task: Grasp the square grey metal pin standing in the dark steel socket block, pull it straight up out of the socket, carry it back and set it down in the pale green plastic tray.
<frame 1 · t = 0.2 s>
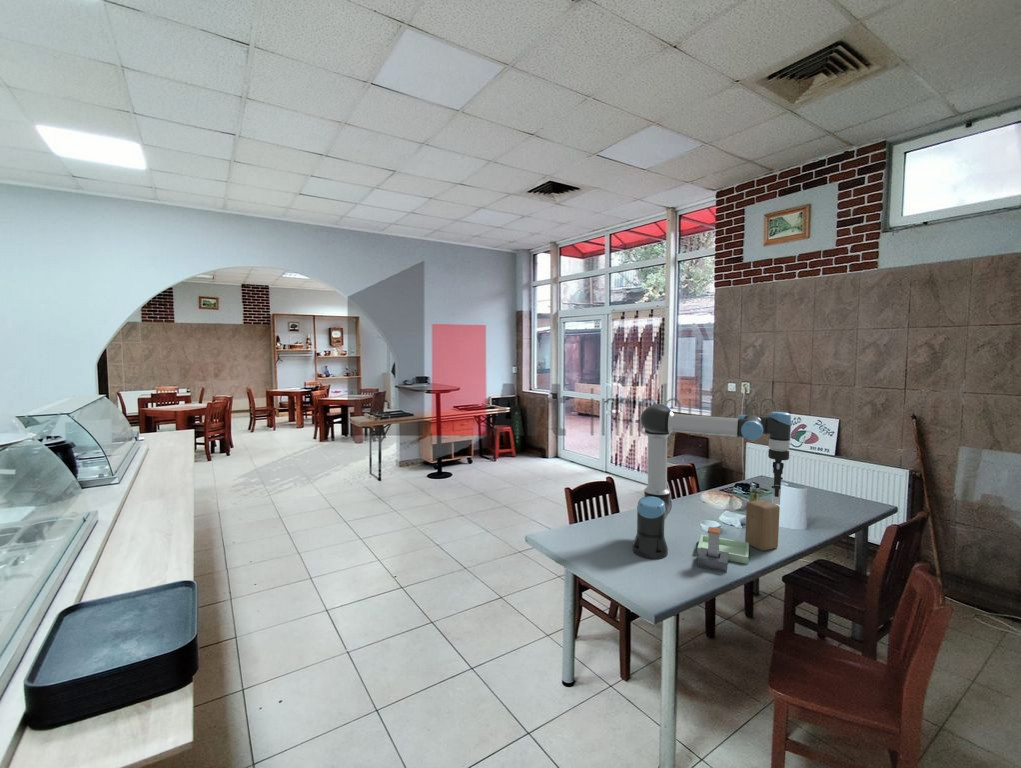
hand: (776, 499, 195), 28 cm above the table, fingers open, 13 cm apart
tray: (723, 551, 209), on the table
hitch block: (713, 564, 197), on the table
wooden block: (761, 546, 215), on the table
pin: (713, 546, 196), in the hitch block
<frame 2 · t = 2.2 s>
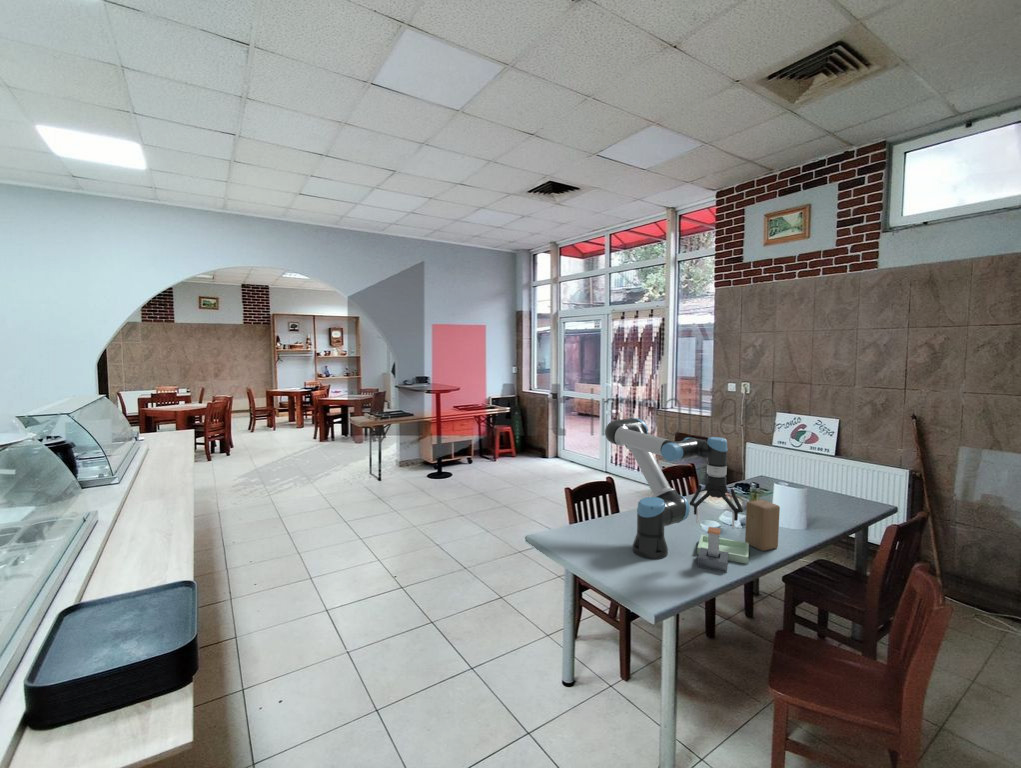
hand: (715, 524, 195), 17 cm above the table, fingers open, 13 cm apart
nothing on the table moved.
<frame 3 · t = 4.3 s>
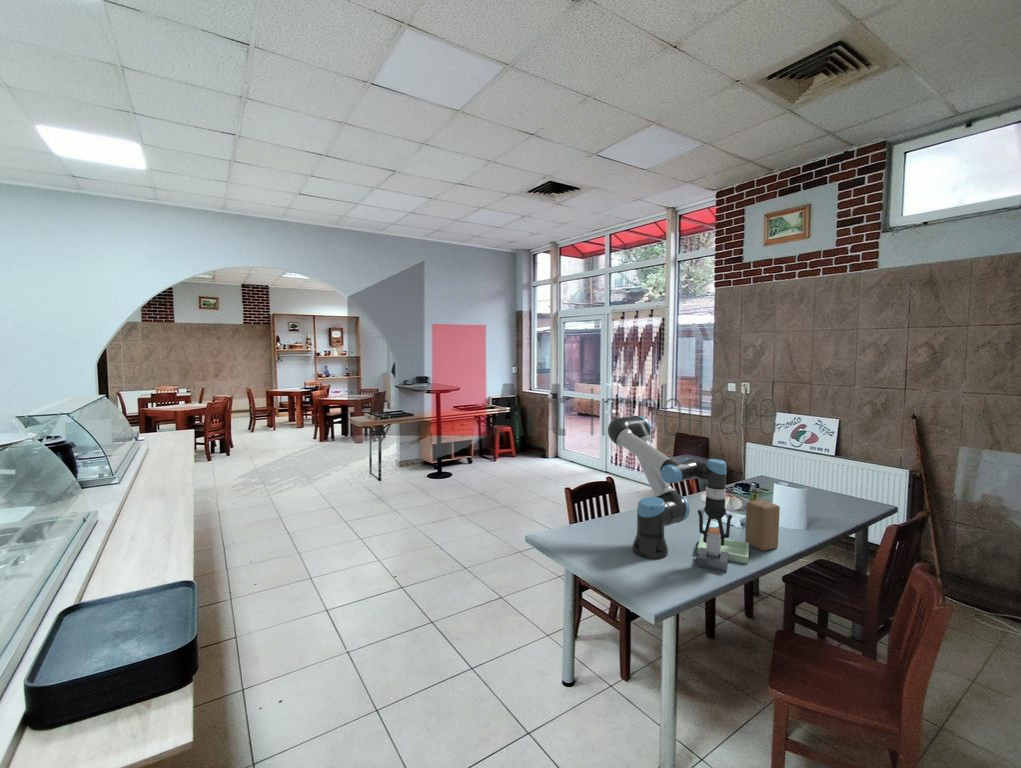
hand: (713, 551, 196), 6 cm above the table, fingers closed on pin, 4 cm apart
pin: (713, 546, 196), in the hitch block, touching gripper
everything else where it was.
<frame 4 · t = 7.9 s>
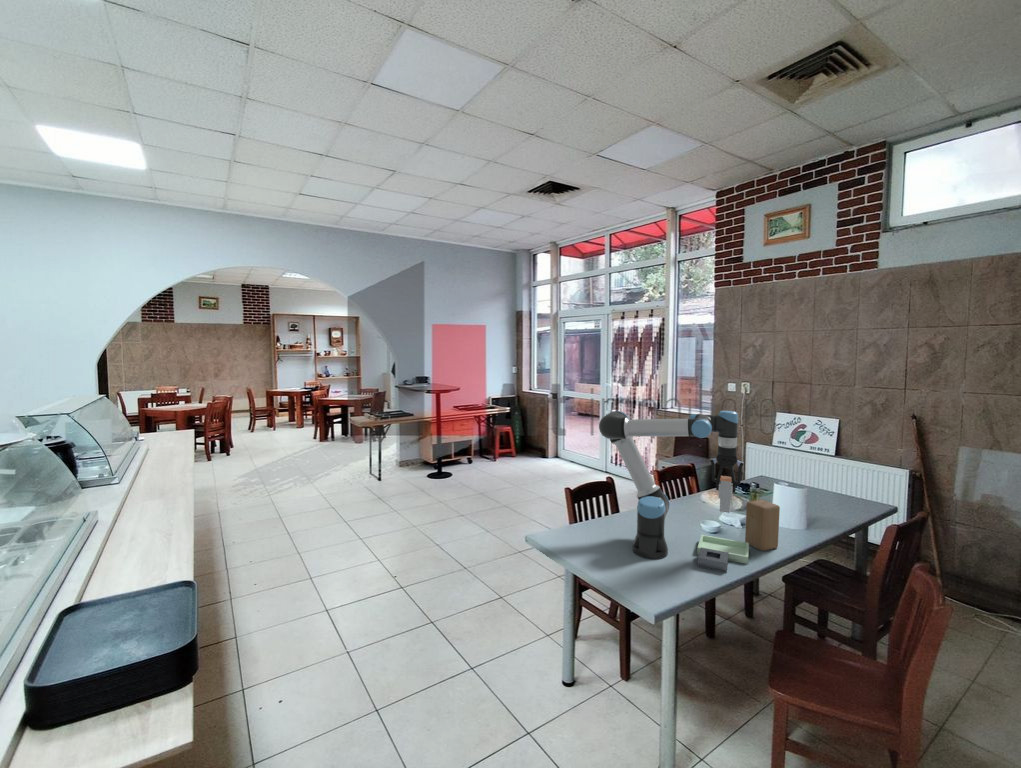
hand: (725, 498, 206), 25 cm above the table, fingers closed on pin, 4 cm apart
pin: (725, 494, 206), point 26 cm above the table, touching gripper
everything else where it was.
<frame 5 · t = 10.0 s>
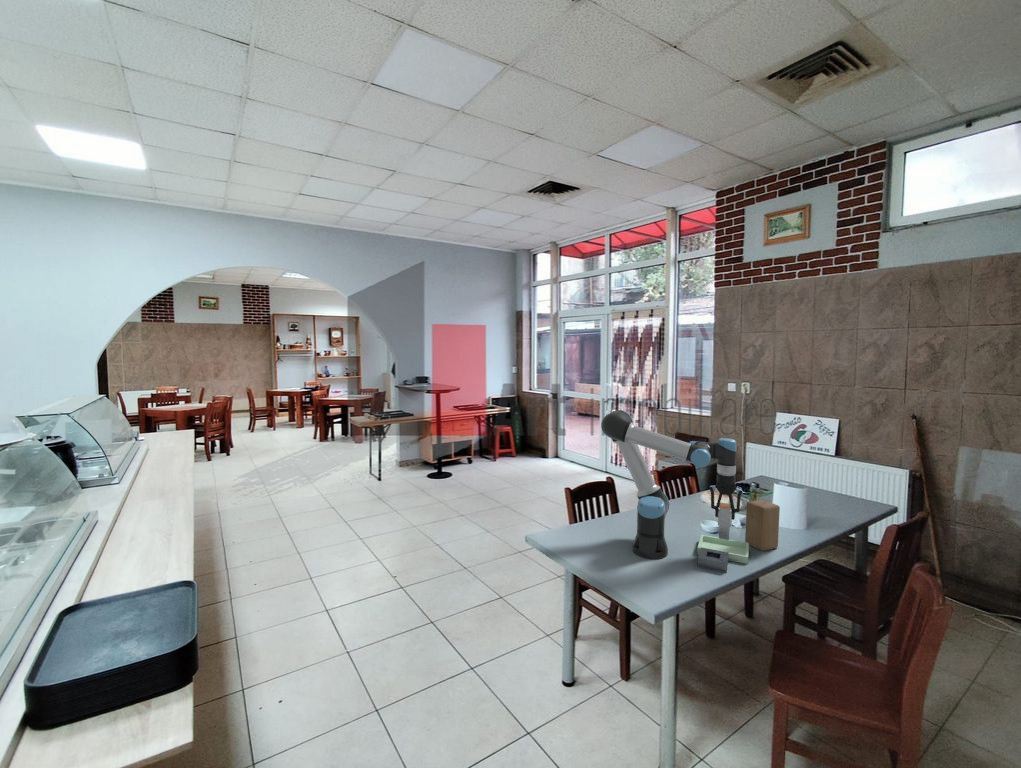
hand: (724, 525, 208), 12 cm above the table, fingers closed on pin, 4 cm apart
pin: (724, 521, 207), point 14 cm above the table, touching gripper
everything else where it was.
when the fingers open (7 cm above the table, at t = 11.8 s): pin stays where it is, resting on tray.
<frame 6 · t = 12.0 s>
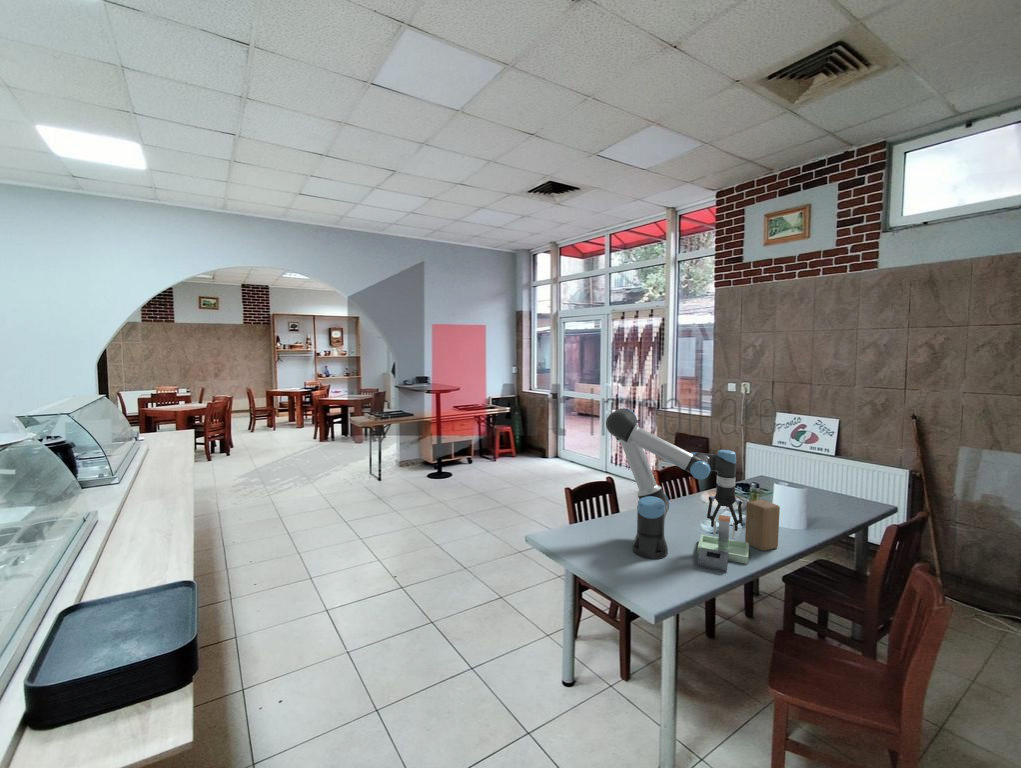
hand: (723, 535, 208), 7 cm above the table, fingers open, 7 cm apart
pin: (723, 533, 208), in the tray, point 8 cm above the table
everything else where it was.
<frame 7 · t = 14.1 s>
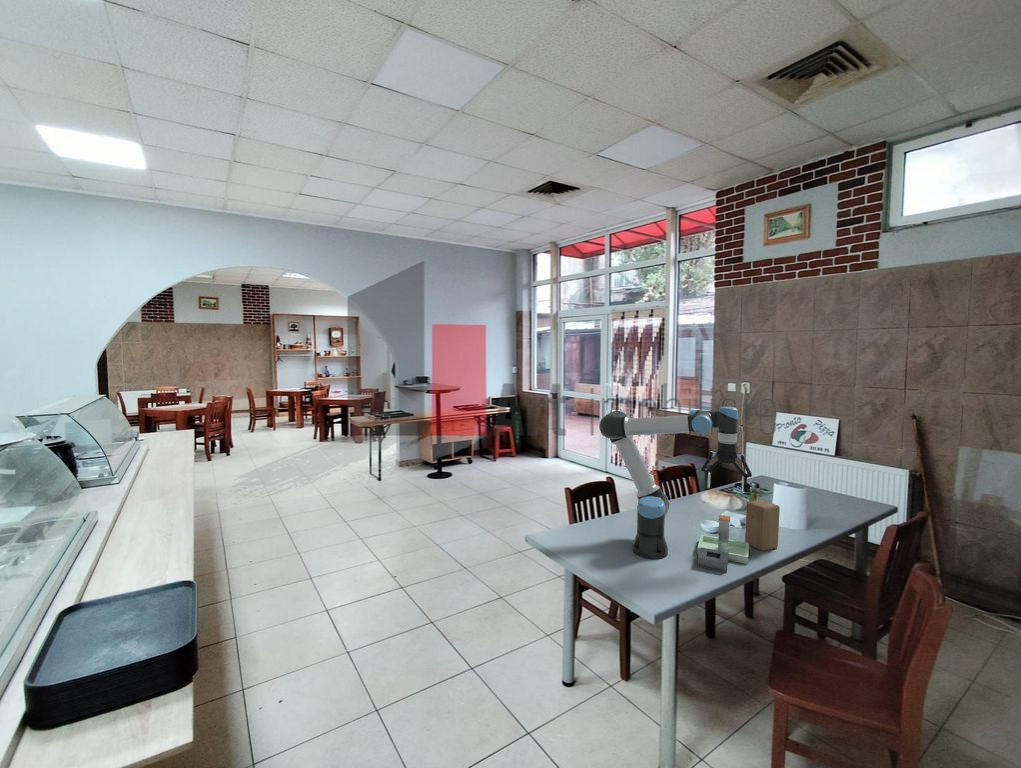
hand: (725, 489, 206), 28 cm above the table, fingers open, 13 cm apart
nothing on the table moved.
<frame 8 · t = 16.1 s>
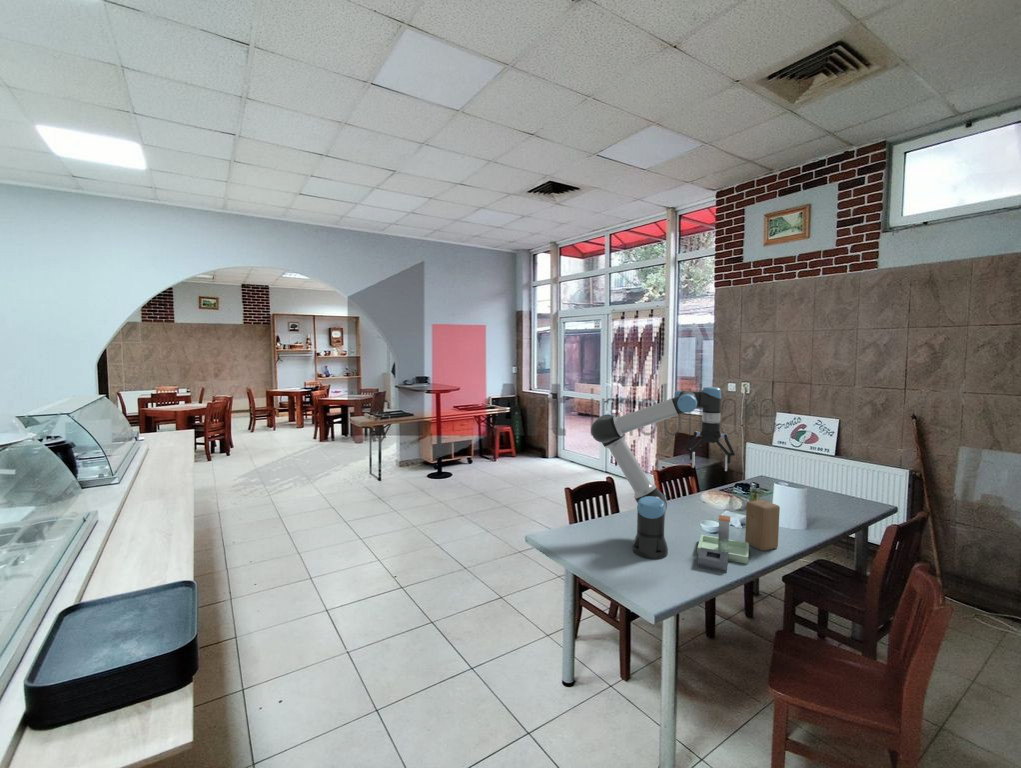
hand: (709, 468, 210), 37 cm above the table, fingers open, 13 cm apart
nothing on the table moved.
at the end: pin inside the target area on the tray (0.0 cm from its centre), point 8.3 cm above the tray's base; pin touching tray; the gripper is holding nothing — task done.
